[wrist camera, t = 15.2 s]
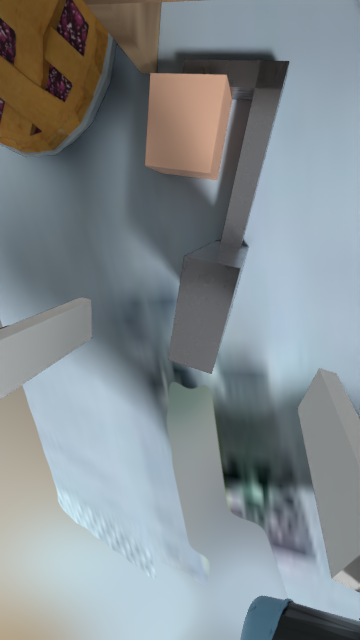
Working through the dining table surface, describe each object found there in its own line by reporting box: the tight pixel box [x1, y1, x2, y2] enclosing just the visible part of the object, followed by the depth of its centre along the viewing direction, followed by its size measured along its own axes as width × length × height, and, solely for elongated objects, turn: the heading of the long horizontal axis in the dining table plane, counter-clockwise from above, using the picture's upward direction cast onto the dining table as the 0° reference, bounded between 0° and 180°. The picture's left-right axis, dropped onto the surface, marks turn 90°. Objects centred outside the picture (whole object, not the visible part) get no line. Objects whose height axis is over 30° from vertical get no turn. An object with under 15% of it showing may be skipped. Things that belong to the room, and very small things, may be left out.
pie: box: [0, 0, 117, 157], centre depth 20 cm, size 22×22×5 cm
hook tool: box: [168, 59, 289, 374], centre depth 18 cm, size 21×9×12 cm, turn 171°
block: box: [145, 73, 232, 180], centre depth 20 cm, size 6×6×4 cm
